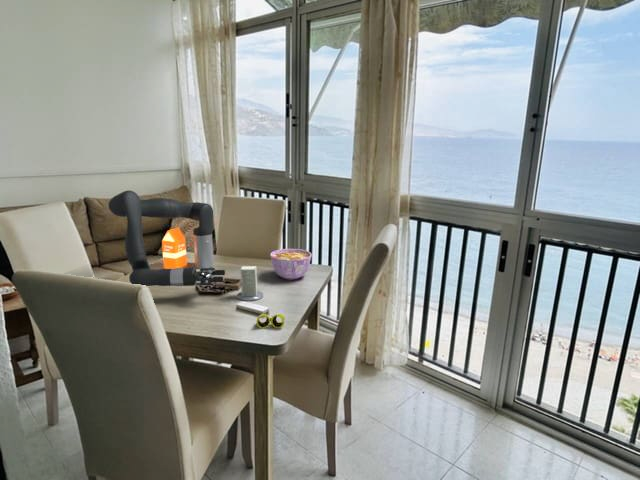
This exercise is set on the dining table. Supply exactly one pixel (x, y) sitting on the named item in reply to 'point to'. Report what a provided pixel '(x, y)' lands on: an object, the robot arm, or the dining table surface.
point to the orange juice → (174, 249)
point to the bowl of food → (290, 262)
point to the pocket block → (233, 286)
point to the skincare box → (249, 280)
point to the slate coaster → (250, 297)
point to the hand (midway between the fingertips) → (223, 275)
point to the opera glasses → (272, 320)
